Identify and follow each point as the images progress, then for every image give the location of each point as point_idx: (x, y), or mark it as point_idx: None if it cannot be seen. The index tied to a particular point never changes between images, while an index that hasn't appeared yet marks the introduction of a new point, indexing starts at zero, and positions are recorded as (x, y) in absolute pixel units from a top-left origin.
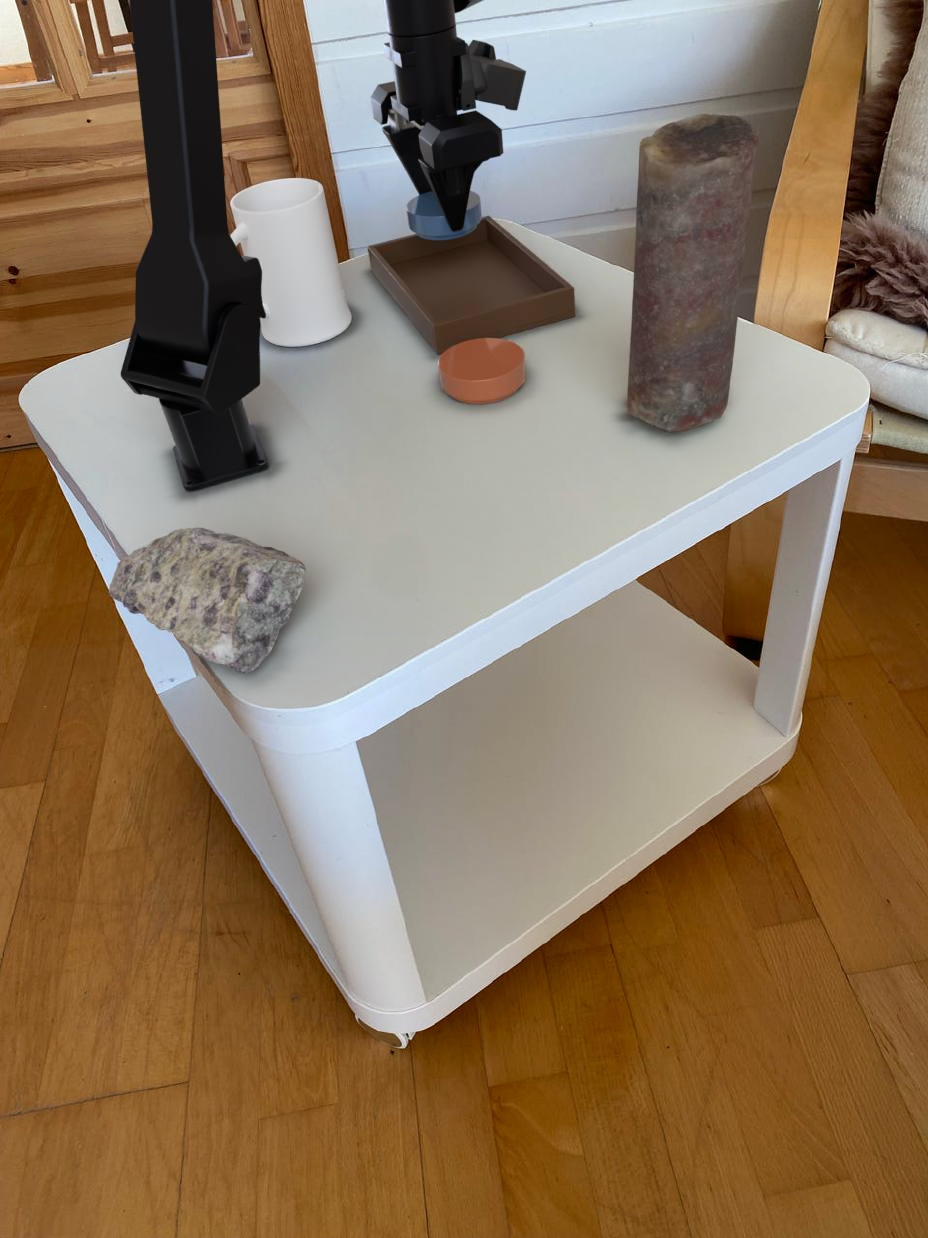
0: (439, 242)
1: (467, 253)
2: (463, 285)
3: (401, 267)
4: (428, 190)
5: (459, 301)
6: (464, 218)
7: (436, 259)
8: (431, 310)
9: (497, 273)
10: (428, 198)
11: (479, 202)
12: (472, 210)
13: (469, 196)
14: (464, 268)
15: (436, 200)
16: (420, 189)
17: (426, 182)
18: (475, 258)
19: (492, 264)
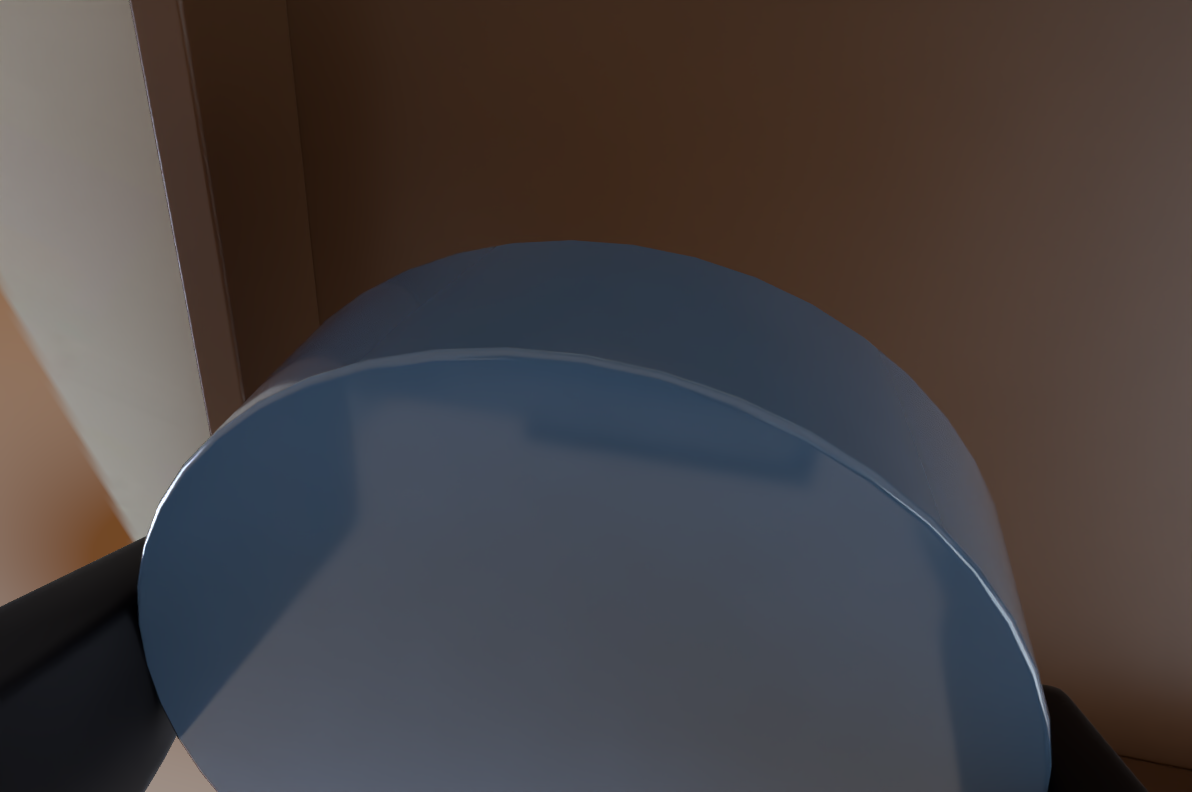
0: (283, 276)
1: (450, 104)
2: (951, 398)
3: None
4: (145, 696)
5: (1147, 528)
6: (1143, 787)
7: None
8: (1092, 675)
9: (981, 99)
10: (348, 772)
11: (900, 484)
12: (1029, 640)
13: (602, 486)
14: (688, 253)
15: (459, 761)
16: (141, 781)
17: (74, 770)
18: (579, 100)
19: (781, 39)
